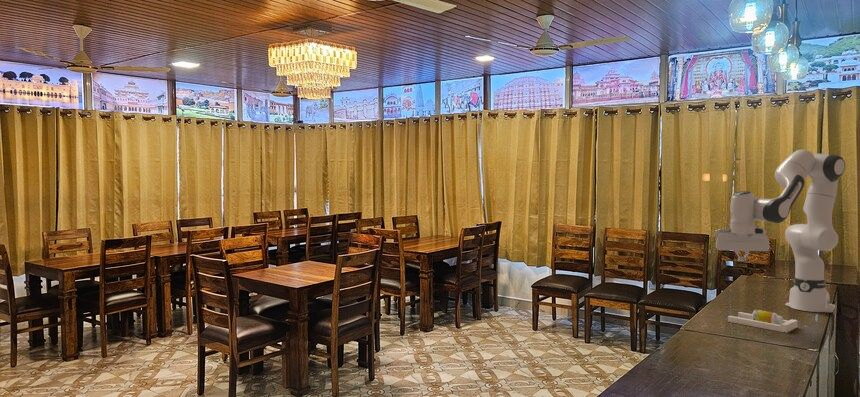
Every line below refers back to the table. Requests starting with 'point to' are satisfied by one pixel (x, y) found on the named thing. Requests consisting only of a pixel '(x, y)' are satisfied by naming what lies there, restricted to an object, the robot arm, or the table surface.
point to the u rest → (763, 323)
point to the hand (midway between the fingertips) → (742, 260)
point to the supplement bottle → (767, 317)
